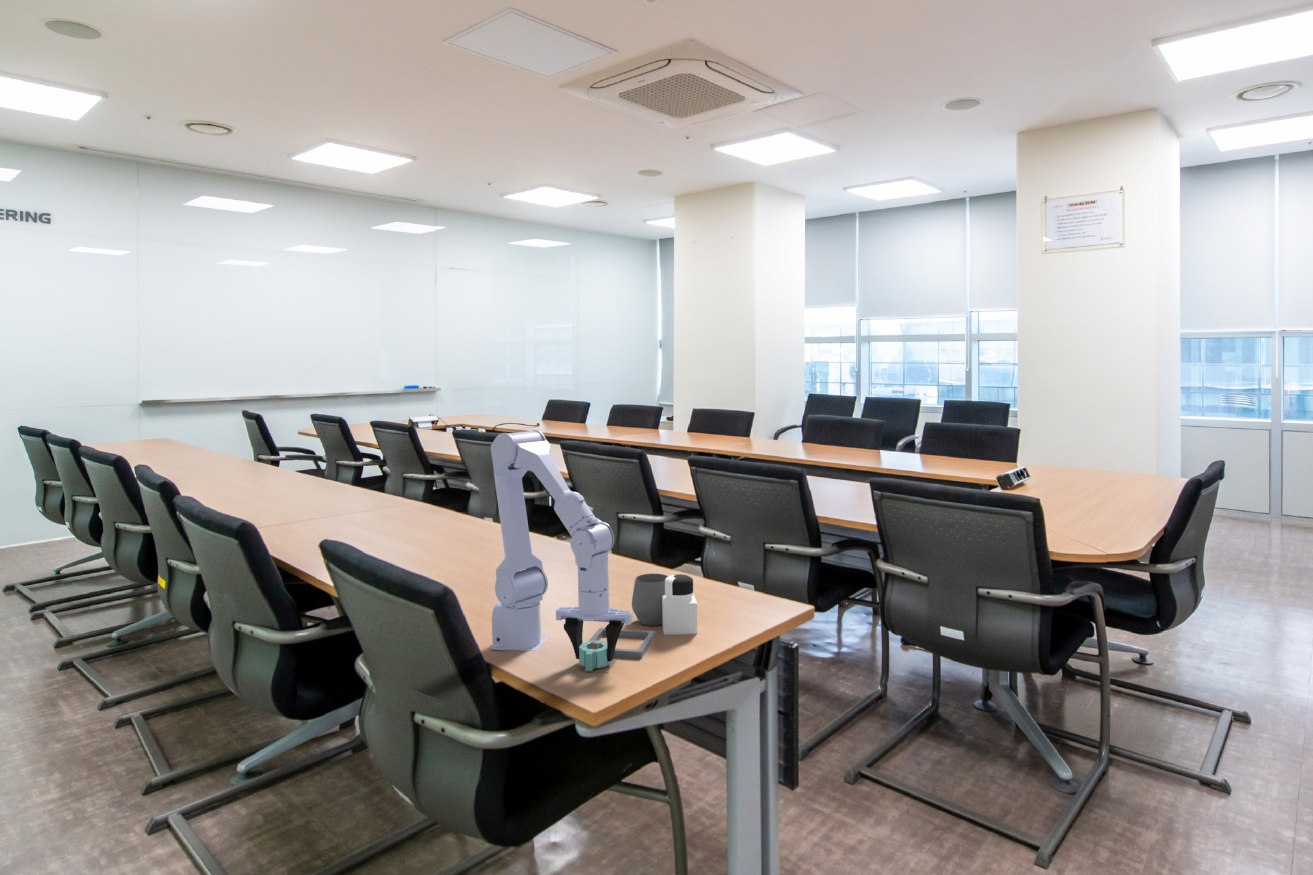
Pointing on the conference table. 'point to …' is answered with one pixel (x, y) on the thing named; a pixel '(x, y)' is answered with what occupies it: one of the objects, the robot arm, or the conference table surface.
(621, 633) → the tray
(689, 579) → the medicine bottle
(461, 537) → the conference table surface
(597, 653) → the ring
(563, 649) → the conference table surface
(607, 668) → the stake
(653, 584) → the cup
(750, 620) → the conference table surface
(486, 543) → the conference table surface
